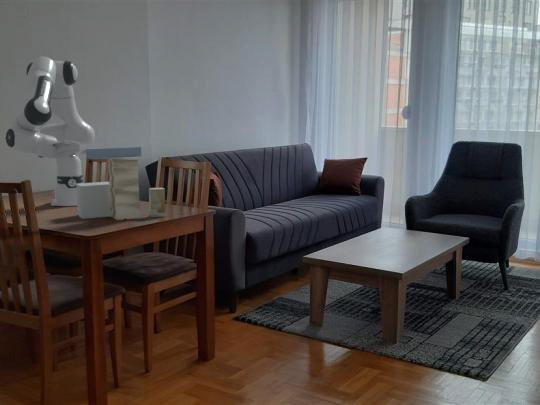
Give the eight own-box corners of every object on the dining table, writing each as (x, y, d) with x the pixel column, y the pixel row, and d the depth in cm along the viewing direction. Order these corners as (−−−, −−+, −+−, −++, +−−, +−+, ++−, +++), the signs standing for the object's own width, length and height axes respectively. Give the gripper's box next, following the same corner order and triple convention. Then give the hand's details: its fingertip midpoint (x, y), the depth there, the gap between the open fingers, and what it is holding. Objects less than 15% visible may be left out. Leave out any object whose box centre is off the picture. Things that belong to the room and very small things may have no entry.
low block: (77, 215, 273) (75, 183, 271) (109, 212, 279) (108, 181, 277) (82, 218, 264) (80, 186, 262) (115, 215, 270) (113, 184, 268)
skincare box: (151, 217, 266) (150, 189, 264) (149, 216, 270) (148, 188, 268) (166, 216, 268) (165, 188, 266) (163, 214, 272) (162, 187, 270)
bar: (86, 158, 257) (86, 148, 257) (138, 156, 268) (138, 146, 267) (88, 159, 254) (88, 149, 253) (141, 156, 264) (141, 147, 263)
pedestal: (109, 216, 269) (106, 156, 265) (134, 214, 274) (132, 155, 270) (115, 220, 259) (112, 158, 255) (141, 218, 264) (139, 157, 260)
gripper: (61, 134, 243) (92, 142, 253) (37, 143, 258) (68, 150, 267) (59, 149, 242) (91, 157, 252) (35, 157, 256) (66, 164, 266)
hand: (79, 153), depth 260 cm, fingers open, 8 cm apart
